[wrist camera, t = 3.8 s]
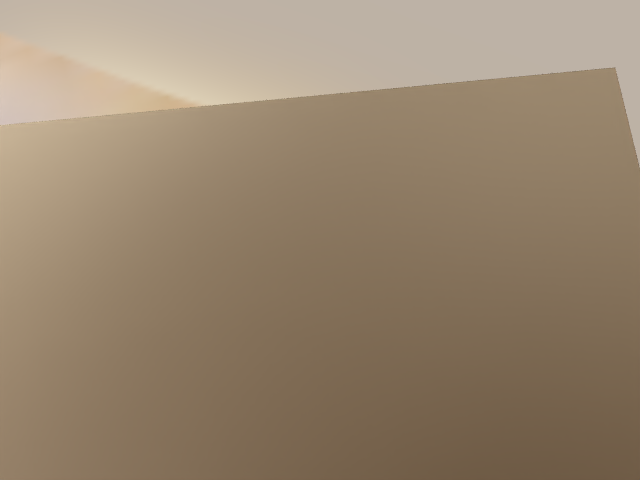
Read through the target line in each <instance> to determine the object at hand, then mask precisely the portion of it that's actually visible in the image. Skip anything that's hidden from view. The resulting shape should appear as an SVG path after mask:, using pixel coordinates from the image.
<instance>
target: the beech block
mask: <svg viewBox="0 0 640 480" xmlns="http://www.w3.org/2000/svg"><path fill="white" fill-rule="evenodd" d="M0 480H640V168H639V164H638V159H637V155H636V152H635V147H634V144H633V139H632V135H631V131H630V127H629V123H628V119H627V114H626V110H625V106H624V102H623V98H622V94H621V90H620V86H619V82H618V78H617V74H616V70H615V68H606V69H595V70H585V71H574V72H564V73H552V74H542V75H532V76H521V77H510V78H500V79H489V80H478V81H467V82H457V83H446V84H435V85H425V86H414V87H404V88H393V89H382V90H371V91H362V92H350V93H340V94H329V95H318V96H308V97H298V98H287V99H276V100H265V101H255V102H244V103H233V104H223V105H212V106H201V107H190V108H180V109H169V110H158V111H148V112H137V113H127V114H116V115H105V116H95V117H84V118H73V119H63V120H52V121H41V122H31V123H20V124H9V125H0Z"/></svg>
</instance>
